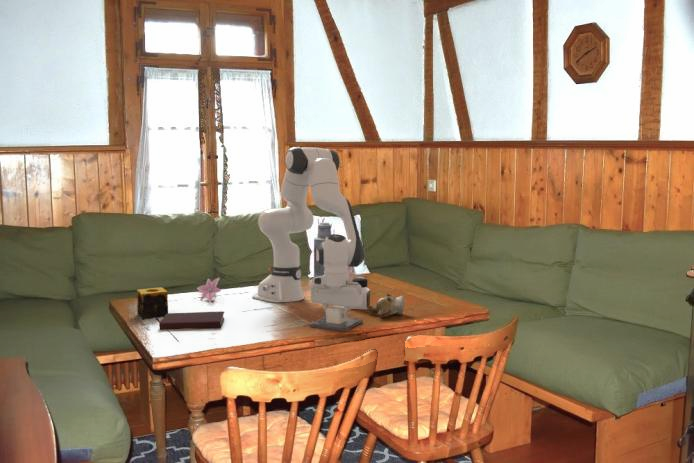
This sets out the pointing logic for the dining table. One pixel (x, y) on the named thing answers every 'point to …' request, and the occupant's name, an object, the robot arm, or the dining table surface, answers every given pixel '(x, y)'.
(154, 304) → the yellow holed cube
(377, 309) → the ceramic sculpture
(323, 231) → the grey elongated piece
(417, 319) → the dining table surface
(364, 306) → the medicine bottle
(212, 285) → the lily
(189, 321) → the book
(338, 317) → the cream rectangular prism
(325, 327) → the post plate
